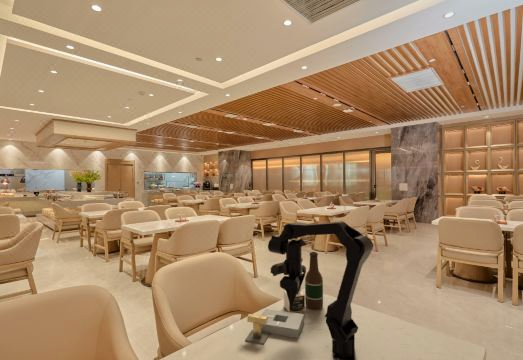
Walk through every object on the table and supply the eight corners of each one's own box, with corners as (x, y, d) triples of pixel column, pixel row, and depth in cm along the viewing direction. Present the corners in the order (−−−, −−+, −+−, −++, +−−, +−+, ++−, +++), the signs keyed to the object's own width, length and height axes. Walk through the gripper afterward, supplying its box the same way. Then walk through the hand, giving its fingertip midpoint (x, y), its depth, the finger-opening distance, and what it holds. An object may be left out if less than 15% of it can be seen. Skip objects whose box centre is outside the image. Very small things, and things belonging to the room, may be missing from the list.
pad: (269, 333, 102) (269, 332, 102) (263, 344, 96) (263, 343, 96) (251, 330, 104) (251, 329, 104) (244, 341, 98) (244, 339, 98)
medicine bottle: (289, 313, 118) (289, 285, 118) (283, 306, 125) (283, 279, 125) (305, 311, 120) (304, 283, 120) (298, 304, 127) (298, 277, 127)
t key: (250, 332, 103) (249, 312, 103) (268, 335, 100) (268, 315, 100) (246, 337, 100) (246, 316, 100) (265, 340, 97) (265, 319, 97)
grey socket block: (303, 321, 111) (303, 313, 111) (298, 337, 99) (298, 329, 99) (265, 315, 116) (265, 308, 116) (256, 330, 104) (256, 322, 104)
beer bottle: (323, 311, 120) (322, 255, 120) (304, 309, 121) (304, 254, 121) (322, 303, 127) (322, 250, 128) (305, 301, 129) (305, 250, 129)
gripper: (279, 249, 114) (279, 287, 114) (265, 261, 97) (265, 306, 97) (306, 251, 111) (306, 290, 111) (297, 264, 93) (297, 311, 93)
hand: (294, 298), depth 103 cm, fingers open, 9 cm apart
